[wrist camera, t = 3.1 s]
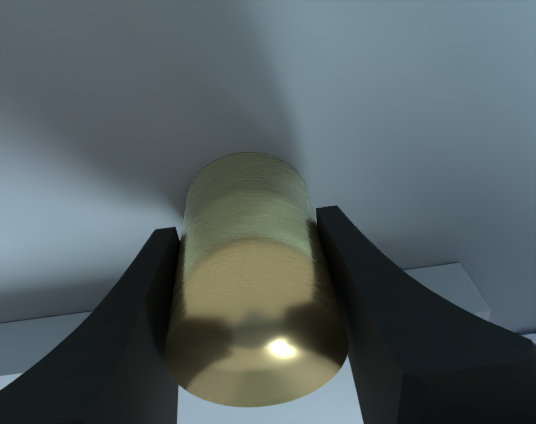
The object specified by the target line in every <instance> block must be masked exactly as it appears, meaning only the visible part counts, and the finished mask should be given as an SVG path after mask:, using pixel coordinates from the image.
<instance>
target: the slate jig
mask: <svg viewBox="0 0 536 424" xmlns="http://www.w3.org/2000/svg"><path fill="white" fill-rule="evenodd" d="M403 271H405V272H406V273H407V274H408V275H410V276H411V277H413V278H414V279H415V280H417V281H418V282H419V283H421V284H422V285H424V286H425V287H427V288H428V289H430V290H431V291H433V292H435V293H437V294H438V295H440V296H442V297H443V298H445V299H447V300H448V301H450V302H452V303H453V304H455V305H457V306H459V307H461V308H463V309H464V310H466V311H468V312H470V313H472V314H474V315H476V316H478V317H480V318H482V319H484V320H486V321H489V320H490V317H491V313H492V310H491V308H490V306H489V305H488V303H487V302H486V300H485V299H484V297H483V296H482V294H481V293H480V291H479V290H478V288H477V287H476V285H475V284H474V282H473V281H472V279H471V277H470V276H469V274H468V273H467V271H466V270H465V268H464V267H463V265H462V264H461V262H460V263H453V264H445V265H438V266H430V267H423V268H415V269H408V270H403ZM92 312H93V311H91V312H83V313H76V314H68V315H61V316H53V317H46V318H38V319H31V320H23V321H16V322H8V323H1V324H0V390H1V389H3V388H4V387H5V386H7V385H8V384H10V383H11V382H12V381H14V380H15V379H16V378H18V377H19V376H20V375H22V374H23V373H24V372H26V371H27V370H28V369H30V368H31V367H32V366H33V365H35V364H36V363H37V362H38V361H40V360H41V359H42V358H43V357H45V356H46V355H47V354H48V353H49V352H50V351H52V350H53V349H54V348H55V347H56V346H57V345H58V344H59V343H60V342H62V341H63V340H64V339H65V338H66V337H67V336H68V335H69V334H71V333H72V332H73V331H74V330H75V329H76V328H77V327H78V326H79V325H80V324H81V323H82V322H83V321H84V320H85V319H86V318H87V317H88V316H89V315H90V314H91V313H92ZM177 424H364V423H363V419H362V414H361V410H360V405H359V401H358V396H357V392H356V388H355V383H354V379H353V375H352V371H351V366H350V362H349V359H348V355H347V358H346V360H345V362H344V364H343V366H342V368H341V369H340V370H339V372H338V373H337V374H336V375H335V376H334V377H333V378H332V379H331V380H330V381H329V382H327V383H326V384H325V385H324V386H322V387H321V388H319V389H317V390H316V391H314V392H312V393H310V394H308V395H306V396H304V397H301V398H299V399H296V400H293V401H290V402H286V403H282V404H278V405H272V406H264V407H233V406H225V405H220V404H215V403H212V402H209V401H206V400H203V399H201V398H198V397H196V396H194V395H192V394H190V393H189V392H187V391H186V390H184V389H183V388H182V387H181V386H180V385H179V387H178V411H177Z"/></svg>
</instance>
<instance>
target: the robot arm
mask: <svg viewBox="0 0 536 424" xmlns="http://www.w3.org/2000/svg"><path fill="white" fill-rule="evenodd" d="M316 215H317V228H318V232H319V235H320V239H321V242H322V246H323V249H324V253H325V256H326V260H327V263H328V267H329V271H330V274H331V278H332V281H333V285H334V288H335V292H336V295H337V299H338V303H339V306H340V310H341V313H342V317H343V320H344V324H345V327H346V331H347V334H348V339H349V350H348V359H349V362H350V366H351V371H352V375H353V379H354V383H355V388H356V392H357V396H358V401H359V405H360V410H361V414H362V419H363V423H364V424H536V333H534V334H526V335H519V334H517V333H514V332H512V331H509V330H507V329H505V328H502V327H500V326H498V325H495V324H493V323H491V322H489V321H486V320H484V319H482V318H480V317H478V316H476V315H474V314H472V313H470V312H468V311H466V310H464V309H463V308H461V307H459V306H457V305H455V304H453V303H452V302H450V301H448V300H447V299H445V298H443V297H442V296H440V295H438V294H437V293H435V292H433V291H431V290H430V289H428V288H427V287H425V286H424V285H422V284H421V283H419V282H418V281H417V280H415V279H414V278H413V277H411V276H410V275H408V274H407V273H406V272H405V271H403V270H402V269H401V268H399V267H398V266H397V265H396V264H395V263H393V262H392V261H391V260H390V259H389V258H388V257H386V256H385V255H384V254H383V253H382V252H381V251H380V250H379V249H377V248H376V247H375V246H374V245H373V244H372V243H371V242H370V241H369V240H368V239H367V238H366V237H365V236H364V235H363V234H362V233H361V232H360V231H359V230H358V229H357V227H356V226H355V225H354V224H353V223H352V222H351V221H350V220H349V219H348V217H347V216H346V215H345V214H344V213H343V212H342V210H341V209H340V208H339V207H338V206H329V207H322V208H316ZM179 247H180V241H179V237H178V234H177V230H176V227H171V228H163V229H156V230H155V231H154V232H153V233H152V235H151V236H150V238H149V239H148V240H147V242H146V243H145V245H144V246H143V248H142V249H141V251H140V252H139V254H138V255H137V256H136V258H135V259H134V261H133V262H132V263H131V265H130V266H129V267H128V269H127V270H126V272H125V273H124V274H123V276H122V277H121V278H120V280H119V281H118V282H117V283H116V285H115V286H114V287H113V288H112V290H111V291H110V292H109V293H108V294H107V296H106V297H105V298H104V299H103V301H102V302H101V303H100V304H99V305H98V306H97V307H96V308H95V310H94V311H93V312H92V313H91V314H90V315H89V316H88V317H87V318H86V319H85V320H84V321H83V322H82V323H81V324H80V325H79V326H78V327H77V328H76V329H75V330H74V331H73V332H72V333H71V334H69V335H68V336H67V337H66V338H65V339H64V340H63V341H62V342H60V343H59V344H58V345H57V346H56V347H55V348H54V349H53V350H52V351H50V352H49V353H48V354H47V355H46V356H45V357H43V358H42V359H41V360H40V361H38V362H37V363H36V364H35V365H33V366H32V367H31V368H30V369H28V370H27V371H26V372H24V373H23V374H22V375H20V376H19V377H18V378H16V379H15V380H14V381H12V382H11V383H10V384H8V385H7V386H5V387H4V388H3V389H1V390H0V424H177V411H178V387H179V385H178V384H177V383H176V382H175V380H174V379H173V378H172V377H171V375H170V373H169V371H168V369H167V366H166V363H165V348H166V340H167V333H168V326H169V319H170V312H171V304H172V297H173V290H174V283H175V276H176V268H177V261H178V254H179Z"/></svg>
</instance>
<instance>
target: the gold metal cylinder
mask: <svg viewBox="0 0 536 424" xmlns="http://www.w3.org/2000/svg"><path fill="white" fill-rule="evenodd" d="M348 350H349V339H348V334H347V331H346V327H345V324H344V320H343V317H342V313H341V310H340V306H339V303H338V299H337V295H336V292H335V288H334V285H333V281H332V278H331V274H330V271H329V267H328V263H327V260H326V256H325V253H324V249H323V246H322V242H321V239H320V235H319V232H318V228H317V224H316V221H315V217H314V214H313V210H312V207H311V203H310V200H309V196H308V192H307V189H306V186H305V184H304V182H303V180H302V179H301V177H300V176H299V174H298V173H297V172H296V171H295V170H294V169H293V168H292V167H291V166H289V165H288V164H287V163H285V162H283V161H282V160H280V159H277V158H275V157H273V156H269V155H266V154H260V153H237V154H232V155H228V156H225V157H222V158H220V159H218V160H215V161H214V162H212V163H210V164H209V165H207V166H206V167H205V168H204V169H202V170H201V171H200V172H199V173H198V174H197V176H196V177H195V178H194V180H193V181H192V183H191V185H190V187H189V189H188V193H187V197H186V204H185V211H184V218H183V225H182V233H181V240H180V247H179V254H178V261H177V268H176V276H175V283H174V290H173V297H172V304H171V312H170V319H169V326H168V333H167V340H166V348H165V363H166V366H167V369H168V371H169V373H170V375H171V377H172V378H173V379H174V380H175V382H176V383H177V384H178V385H180V386H181V387H182V388H183V389H184V390H186V391H187V392H189V393H190V394H192V395H194V396H196V397H198V398H201V399H203V400H206V401H209V402H212V403H215V404H220V405H225V406H233V407H264V406H272V405H278V404H282V403H286V402H290V401H293V400H296V399H299V398H301V397H304V396H306V395H308V394H310V393H312V392H314V391H316V390H317V389H319V388H321V387H322V386H324V385H325V384H326V383H327V382H329V381H330V380H331V379H332V378H333V377H334V376H335V375H336V374H337V373H338V372H339V370H340V369H341V368H342V366H343V364H344V362H345V360H346V358H347V355H348Z"/></svg>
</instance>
